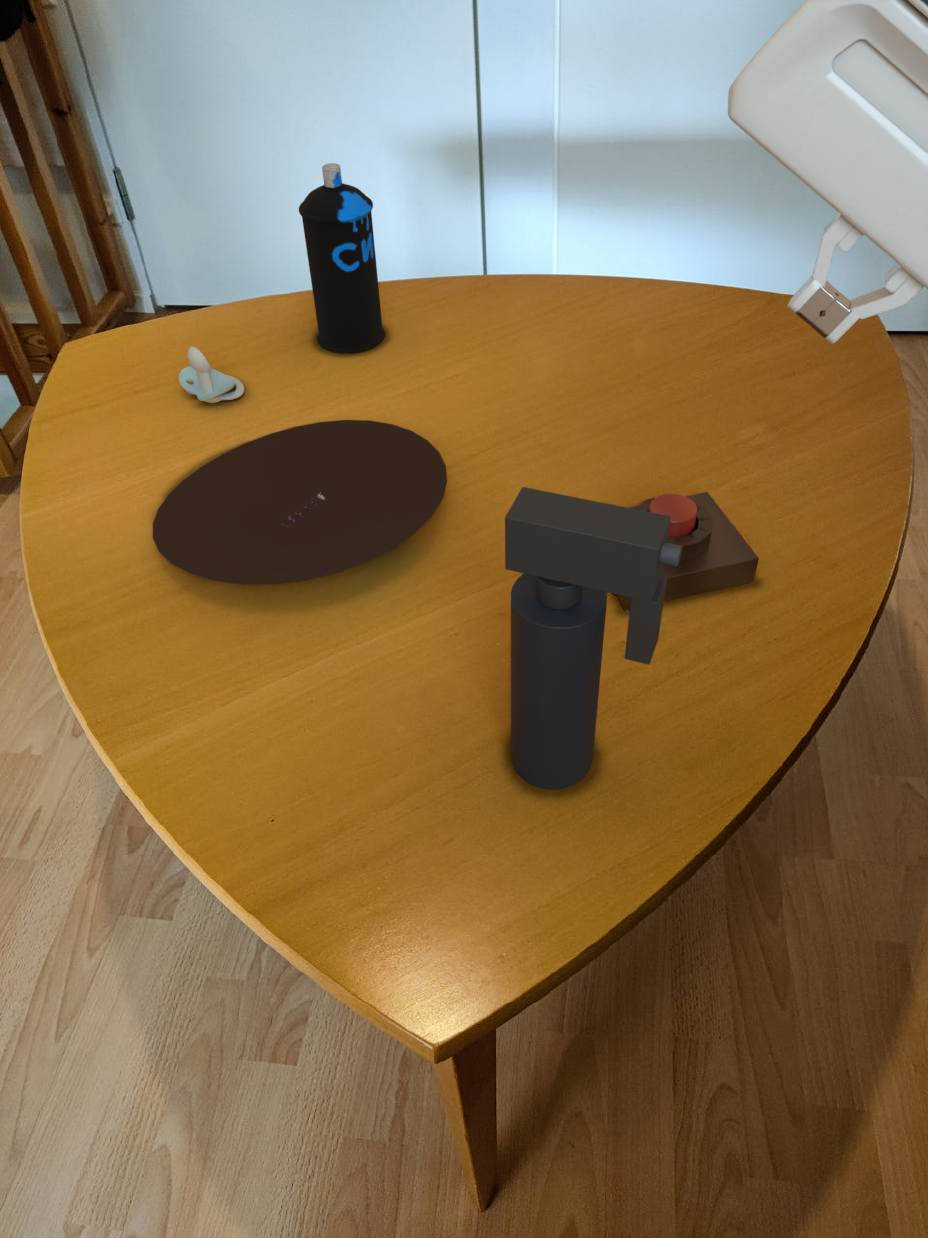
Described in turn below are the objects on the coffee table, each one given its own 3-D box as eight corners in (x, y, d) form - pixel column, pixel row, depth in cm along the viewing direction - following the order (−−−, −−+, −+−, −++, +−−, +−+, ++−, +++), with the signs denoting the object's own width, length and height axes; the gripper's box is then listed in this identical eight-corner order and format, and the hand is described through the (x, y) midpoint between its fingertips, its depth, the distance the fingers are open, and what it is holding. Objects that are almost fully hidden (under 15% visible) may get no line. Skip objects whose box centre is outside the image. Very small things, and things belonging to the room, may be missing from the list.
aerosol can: (303, 342, 120) (276, 171, 106) (347, 315, 125) (326, 147, 111) (356, 360, 117) (335, 185, 103) (399, 331, 121) (384, 160, 108)
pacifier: (220, 373, 116) (175, 391, 113) (210, 322, 111) (164, 340, 108) (257, 396, 112) (211, 415, 109) (248, 344, 108) (201, 363, 104)
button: (682, 506, 88) (685, 489, 86) (702, 533, 85) (705, 516, 84) (640, 514, 87) (642, 498, 86) (658, 542, 84) (661, 525, 83)
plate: (294, 405, 110) (289, 375, 107) (505, 487, 97) (505, 455, 95) (92, 538, 94) (80, 507, 91) (314, 657, 81) (308, 625, 79)
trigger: (658, 639, 63) (667, 577, 60) (649, 665, 62) (658, 603, 58) (633, 633, 64) (641, 572, 60) (624, 659, 62) (631, 597, 58)
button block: (703, 514, 93) (710, 475, 90) (754, 582, 86) (763, 541, 83) (582, 539, 91) (585, 499, 88) (624, 610, 84) (628, 570, 81)
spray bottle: (655, 751, 73) (693, 504, 58) (635, 815, 69) (670, 568, 54) (525, 716, 76) (529, 473, 60) (499, 776, 72) (496, 531, 56)
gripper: (1223, 211, 44) (963, 434, 52) (874, -98, 43) (665, 180, 51) (1267, 238, 39) (972, 481, 47) (872, -111, 38) (640, 200, 46)
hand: (809, 323), depth 49 cm, fingers closed
